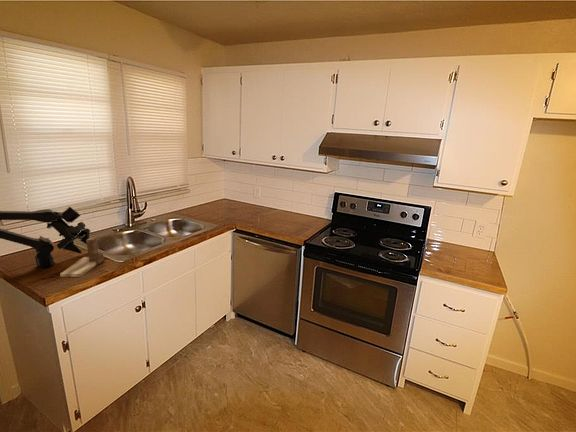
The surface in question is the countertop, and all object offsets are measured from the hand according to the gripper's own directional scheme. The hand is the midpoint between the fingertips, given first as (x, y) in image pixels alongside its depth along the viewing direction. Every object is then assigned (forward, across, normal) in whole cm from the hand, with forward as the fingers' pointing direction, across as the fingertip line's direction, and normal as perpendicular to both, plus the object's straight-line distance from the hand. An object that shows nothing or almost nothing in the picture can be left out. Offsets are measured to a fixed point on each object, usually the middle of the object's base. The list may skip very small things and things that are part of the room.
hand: (86, 249), depth 167 cm
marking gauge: (+8, 0, +3) cm, 8 cm away
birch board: (+6, -6, +5) cm, 10 cm away
